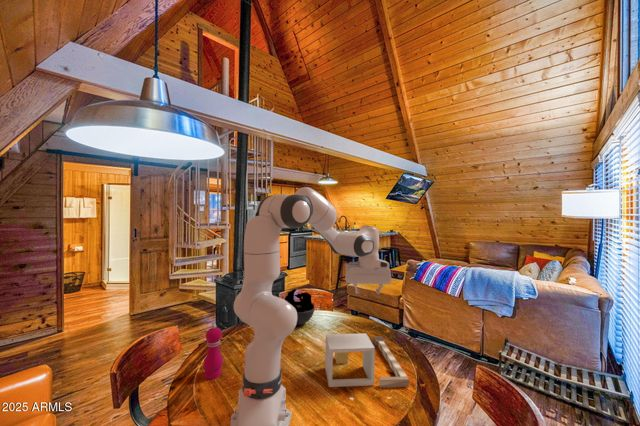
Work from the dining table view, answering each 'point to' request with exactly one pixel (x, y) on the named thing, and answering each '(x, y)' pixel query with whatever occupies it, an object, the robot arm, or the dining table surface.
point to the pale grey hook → (401, 377)
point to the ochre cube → (341, 357)
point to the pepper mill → (213, 354)
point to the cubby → (350, 345)
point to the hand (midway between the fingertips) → (367, 293)
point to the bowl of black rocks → (301, 306)
